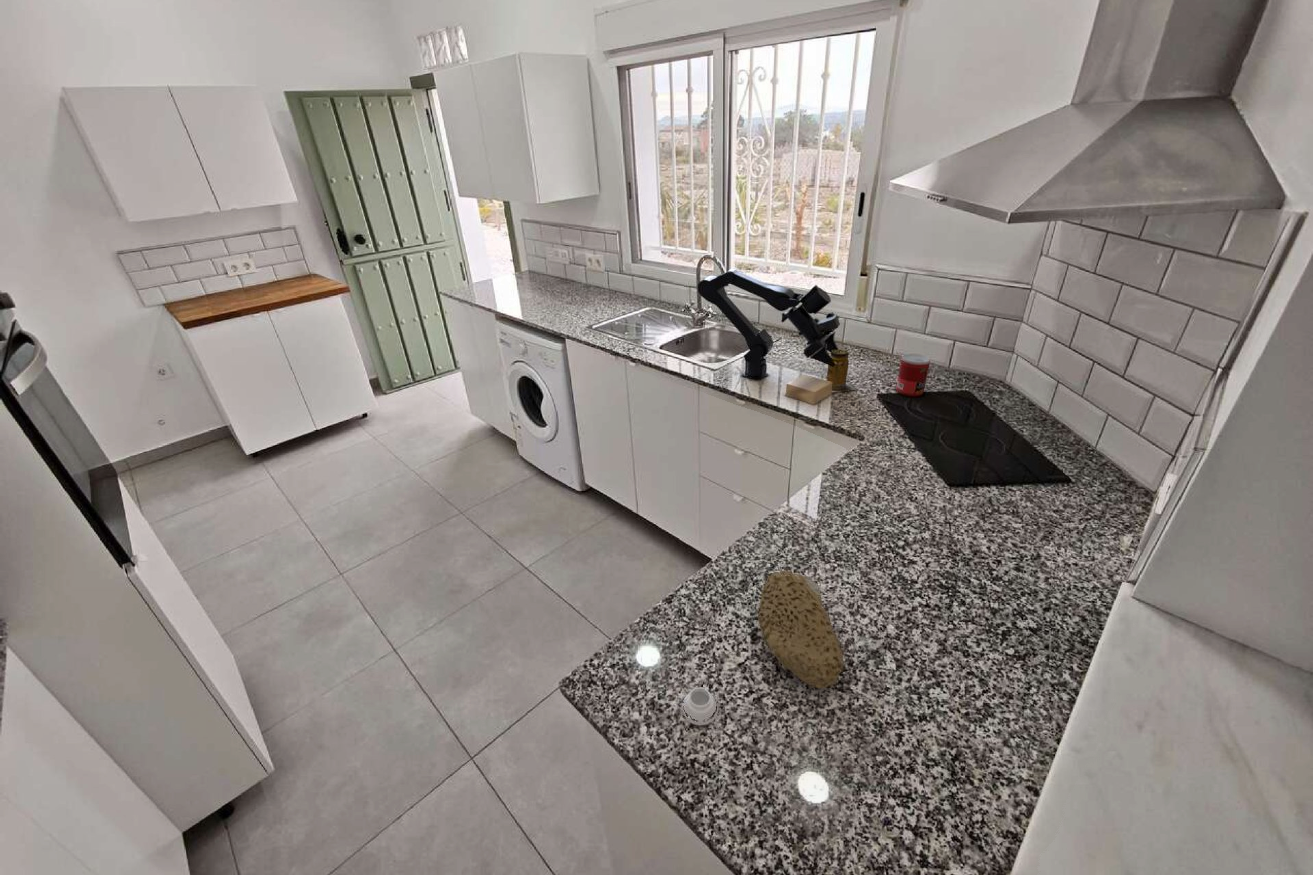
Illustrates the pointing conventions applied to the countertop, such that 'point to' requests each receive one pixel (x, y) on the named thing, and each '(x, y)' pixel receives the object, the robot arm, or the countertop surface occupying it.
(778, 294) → the robot arm
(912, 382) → the canned food
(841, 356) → the condiment
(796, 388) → the block
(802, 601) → the sponge
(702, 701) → the white jar
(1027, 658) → the countertop surface
